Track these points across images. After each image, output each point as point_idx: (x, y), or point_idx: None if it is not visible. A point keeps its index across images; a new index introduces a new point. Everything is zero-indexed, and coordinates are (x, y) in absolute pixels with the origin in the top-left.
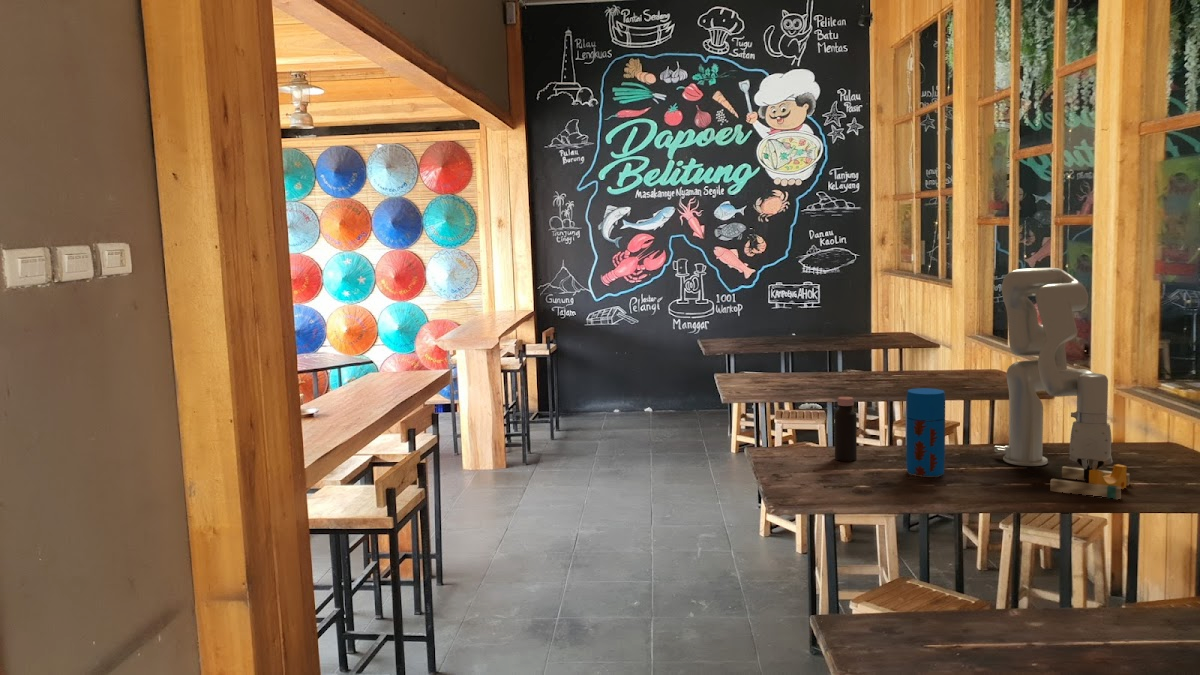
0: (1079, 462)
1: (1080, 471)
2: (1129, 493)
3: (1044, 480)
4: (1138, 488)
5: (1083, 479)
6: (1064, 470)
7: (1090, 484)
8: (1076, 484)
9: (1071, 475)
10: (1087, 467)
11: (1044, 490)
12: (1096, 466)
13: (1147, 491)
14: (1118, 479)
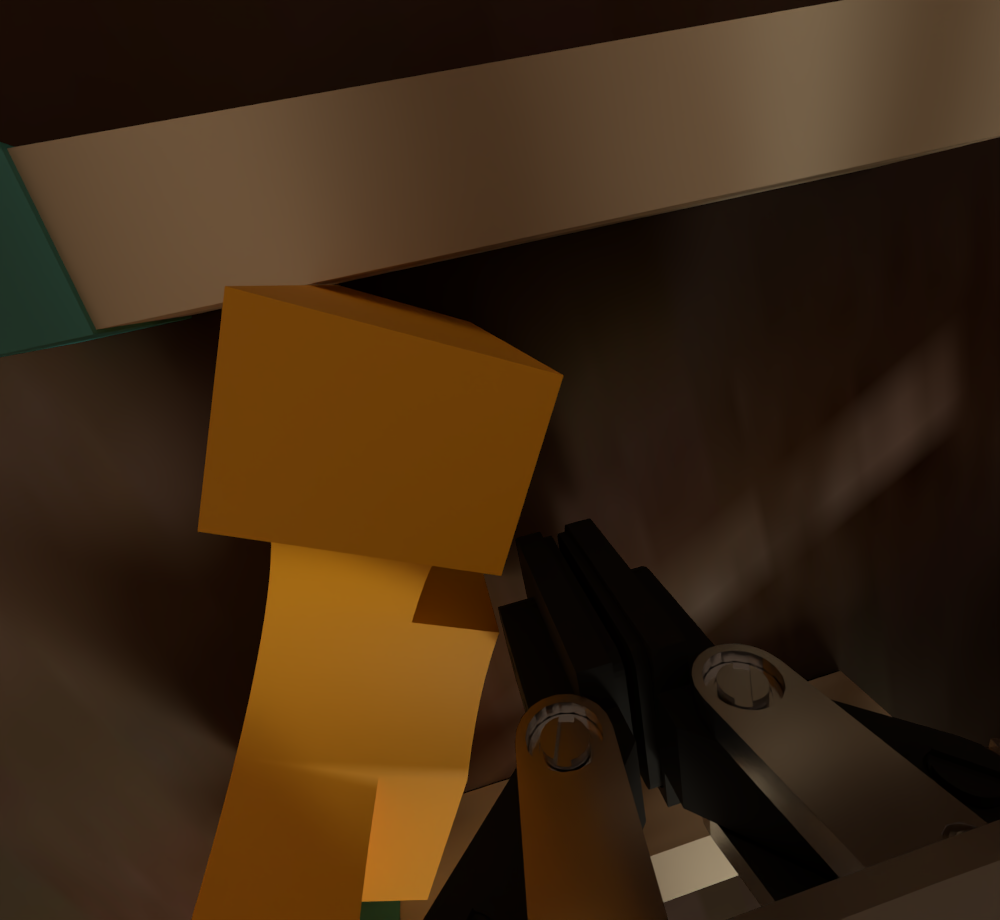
0: (922, 742)
1: None
2: (102, 629)
3: (962, 493)
4: (169, 839)
5: None
6: None
7: (394, 151)
8: (628, 45)
9: None
10: (697, 711)
11: None
12: (534, 793)
13: (29, 817)
14: (231, 776)
